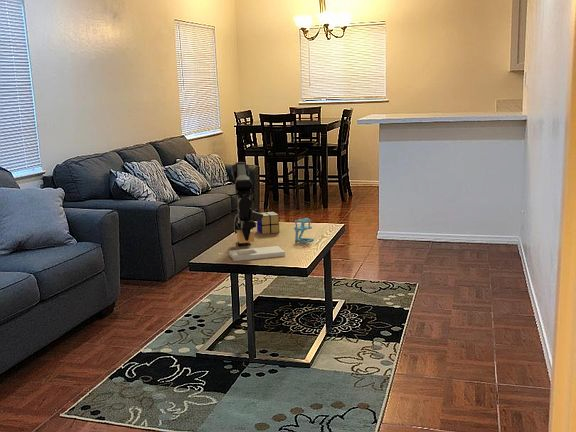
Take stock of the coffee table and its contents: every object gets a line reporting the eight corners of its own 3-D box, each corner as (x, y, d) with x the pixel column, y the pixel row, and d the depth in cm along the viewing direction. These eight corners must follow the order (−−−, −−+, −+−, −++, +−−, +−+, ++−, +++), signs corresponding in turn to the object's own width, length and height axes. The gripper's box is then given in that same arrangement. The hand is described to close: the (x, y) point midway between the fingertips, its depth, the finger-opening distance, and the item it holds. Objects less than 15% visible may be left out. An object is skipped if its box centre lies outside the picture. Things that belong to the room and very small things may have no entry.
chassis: (229, 254, 299) (228, 250, 298) (278, 249, 305) (277, 245, 305) (234, 261, 287) (234, 256, 287) (285, 255, 294) (284, 251, 294)
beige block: (237, 240, 295) (236, 230, 294) (252, 239, 297) (251, 229, 296) (239, 243, 290) (239, 232, 290) (254, 241, 292) (254, 231, 291)
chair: (301, 238, 328) (300, 215, 326) (314, 240, 323) (313, 217, 320) (292, 241, 322) (291, 218, 320) (305, 243, 317) (304, 219, 315)
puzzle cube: (257, 230, 349) (256, 213, 347) (274, 229, 352) (273, 211, 350) (261, 234, 340) (261, 216, 338) (279, 232, 342) (279, 214, 340)
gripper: (266, 208, 284) (267, 242, 287) (256, 201, 302) (257, 233, 305) (242, 210, 281) (243, 244, 284) (233, 203, 298) (235, 235, 302)
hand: (245, 239), depth 294 cm, fingers closed on beige block, 5 cm apart
